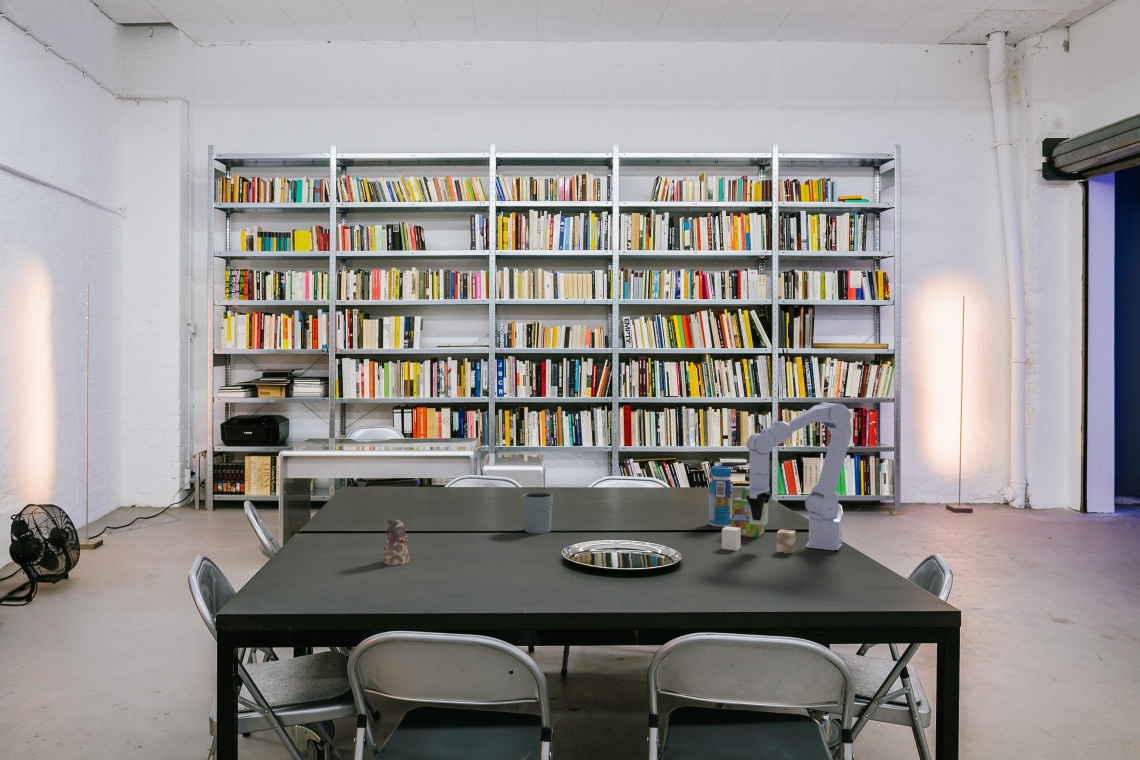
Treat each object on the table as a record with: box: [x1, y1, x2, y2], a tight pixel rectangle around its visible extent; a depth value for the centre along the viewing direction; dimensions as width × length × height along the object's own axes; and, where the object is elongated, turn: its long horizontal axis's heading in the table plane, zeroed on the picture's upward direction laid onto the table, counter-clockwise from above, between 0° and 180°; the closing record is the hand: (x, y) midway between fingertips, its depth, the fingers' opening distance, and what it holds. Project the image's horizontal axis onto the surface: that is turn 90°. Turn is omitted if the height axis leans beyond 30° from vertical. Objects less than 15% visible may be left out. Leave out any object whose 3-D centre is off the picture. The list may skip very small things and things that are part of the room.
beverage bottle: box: [708, 465, 734, 528], centre depth 264 cm, size 8×8×20 cm
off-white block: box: [721, 526, 742, 551], centre depth 232 cm, size 4×4×6 cm
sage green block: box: [749, 502, 769, 526], centre depth 229 cm, size 4×4×6 cm
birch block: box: [776, 528, 797, 554], centre depth 228 cm, size 4×4×6 cm
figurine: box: [382, 518, 410, 566], centre depth 214 cm, size 7×7×12 cm
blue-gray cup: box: [522, 492, 554, 534], centre depth 254 cm, size 10×10×12 cm
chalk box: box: [730, 487, 766, 539], centre depth 250 cm, size 9×9×15 cm
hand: (758, 518), depth 230 cm, fingers closed on sage green block, 4 cm apart
